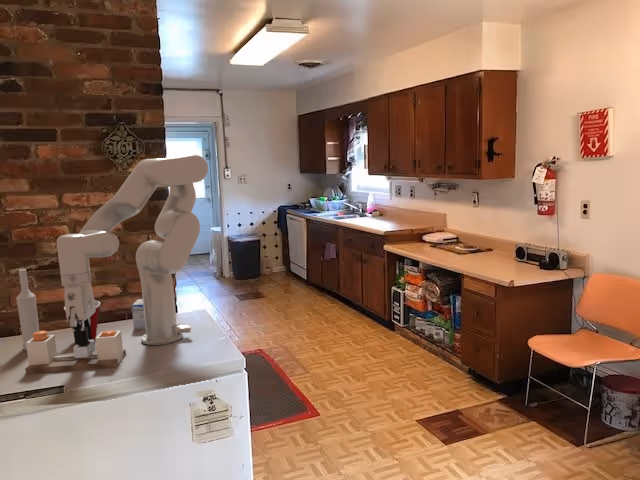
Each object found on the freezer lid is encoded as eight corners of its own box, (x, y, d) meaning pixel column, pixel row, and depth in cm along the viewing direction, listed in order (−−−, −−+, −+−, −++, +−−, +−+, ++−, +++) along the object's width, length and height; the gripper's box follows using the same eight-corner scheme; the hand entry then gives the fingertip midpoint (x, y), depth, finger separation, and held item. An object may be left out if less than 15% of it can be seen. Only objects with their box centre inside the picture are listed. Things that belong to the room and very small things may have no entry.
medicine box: (139, 322, 187) (137, 299, 185) (152, 321, 187) (150, 298, 186) (133, 329, 179) (131, 305, 178) (147, 328, 179) (144, 304, 178)
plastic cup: (67, 348, 163) (62, 310, 161) (68, 338, 173) (63, 302, 171) (105, 342, 167) (101, 305, 166) (103, 332, 177) (100, 297, 175)
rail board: (126, 354, 155) (125, 346, 155) (115, 367, 146) (114, 358, 145) (42, 360, 154) (41, 351, 153) (25, 373, 144) (24, 364, 144)
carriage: (95, 349, 153) (92, 324, 151) (87, 357, 147) (84, 331, 145) (82, 350, 152) (79, 325, 151) (74, 357, 146) (71, 332, 145)
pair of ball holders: (123, 357, 153) (120, 330, 152) (118, 364, 148) (115, 336, 147) (38, 363, 152) (35, 336, 150) (29, 370, 146) (26, 342, 145)
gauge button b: (50, 337, 150) (49, 330, 149) (44, 341, 146) (43, 334, 146) (36, 337, 150) (36, 331, 149) (31, 342, 146) (30, 335, 146)
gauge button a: (117, 336, 151) (116, 329, 151) (113, 340, 148) (112, 334, 147) (104, 337, 151) (103, 330, 151) (100, 341, 147) (99, 334, 147)
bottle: (29, 351, 162) (18, 272, 158) (19, 349, 164) (9, 270, 161) (45, 346, 166) (35, 268, 162) (36, 343, 169) (26, 267, 165)
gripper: (79, 284, 138) (87, 351, 141) (99, 271, 154) (106, 332, 157) (50, 286, 138) (58, 353, 141) (73, 273, 154) (80, 333, 157)
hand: (83, 341), depth 149 cm, fingers closed on carriage, 2 cm apart
